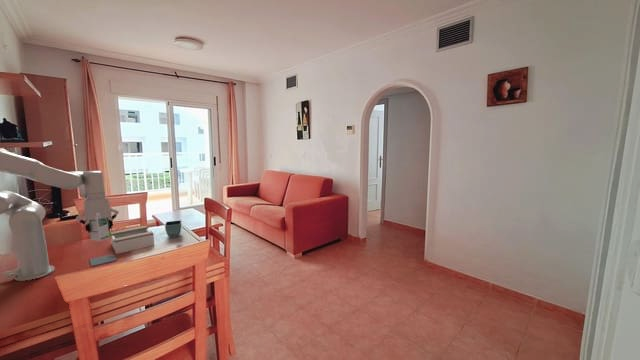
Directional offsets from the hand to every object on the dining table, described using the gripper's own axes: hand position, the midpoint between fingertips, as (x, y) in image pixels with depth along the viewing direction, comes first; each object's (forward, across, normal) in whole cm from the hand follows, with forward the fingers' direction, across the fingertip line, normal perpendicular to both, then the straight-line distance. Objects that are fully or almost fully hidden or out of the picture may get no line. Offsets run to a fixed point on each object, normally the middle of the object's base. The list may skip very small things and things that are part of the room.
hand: (100, 229), depth 134 cm
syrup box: (+5, 0, 0) cm, 5 cm away
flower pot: (+17, +37, +13) cm, 43 cm away
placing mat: (+16, 0, 0) cm, 16 cm away
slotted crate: (+16, +15, +14) cm, 26 cm away
